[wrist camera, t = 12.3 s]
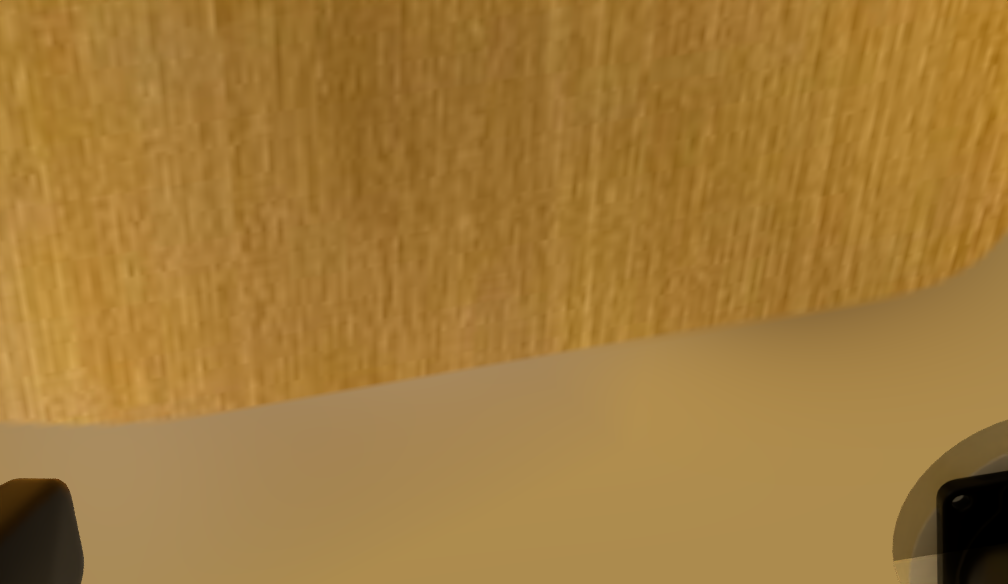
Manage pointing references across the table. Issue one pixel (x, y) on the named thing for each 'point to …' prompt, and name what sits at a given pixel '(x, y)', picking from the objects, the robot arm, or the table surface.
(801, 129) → the table surface
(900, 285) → the table surface
